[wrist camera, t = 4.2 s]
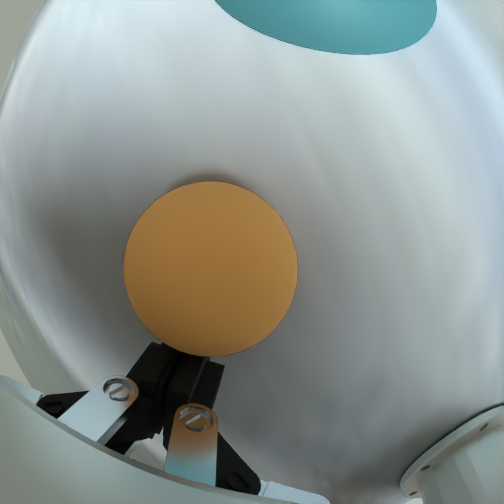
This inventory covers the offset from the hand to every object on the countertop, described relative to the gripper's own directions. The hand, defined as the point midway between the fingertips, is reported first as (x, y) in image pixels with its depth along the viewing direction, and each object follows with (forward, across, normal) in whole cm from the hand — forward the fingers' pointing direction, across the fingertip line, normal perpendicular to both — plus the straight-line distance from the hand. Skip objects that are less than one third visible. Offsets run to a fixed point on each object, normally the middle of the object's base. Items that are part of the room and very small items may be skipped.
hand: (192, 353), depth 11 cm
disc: (+2, -1, -20) cm, 20 cm away
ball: (-1, 0, -4) cm, 5 cm away
